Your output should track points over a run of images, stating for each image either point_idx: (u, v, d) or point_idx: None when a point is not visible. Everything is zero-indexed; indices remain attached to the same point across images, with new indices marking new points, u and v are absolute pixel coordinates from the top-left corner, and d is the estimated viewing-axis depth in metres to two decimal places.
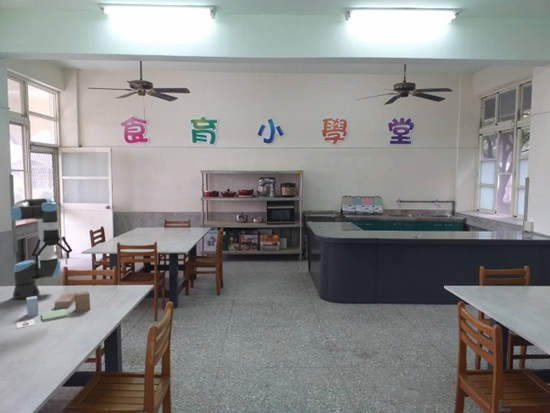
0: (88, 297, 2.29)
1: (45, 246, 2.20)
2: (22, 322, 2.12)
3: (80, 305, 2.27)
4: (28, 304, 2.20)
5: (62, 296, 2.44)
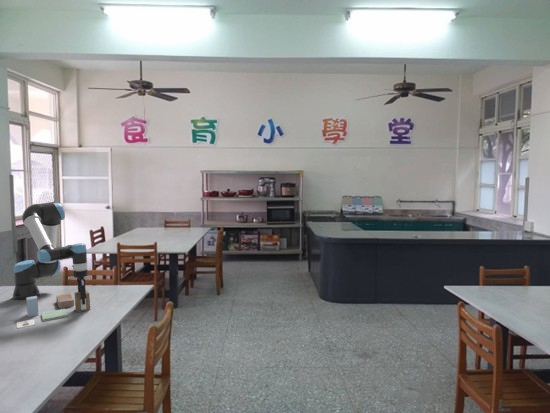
0: (88, 297, 2.29)
1: None
2: (22, 322, 2.12)
3: (80, 305, 2.27)
4: (28, 304, 2.20)
5: (59, 297, 2.43)
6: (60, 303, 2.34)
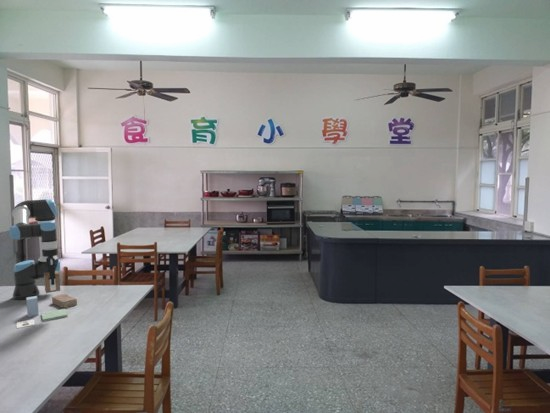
0: (58, 277, 2.18)
1: (47, 265, 2.20)
2: (22, 322, 2.12)
3: (49, 286, 2.16)
4: (28, 304, 2.20)
5: (57, 298, 2.41)
6: (65, 303, 2.34)
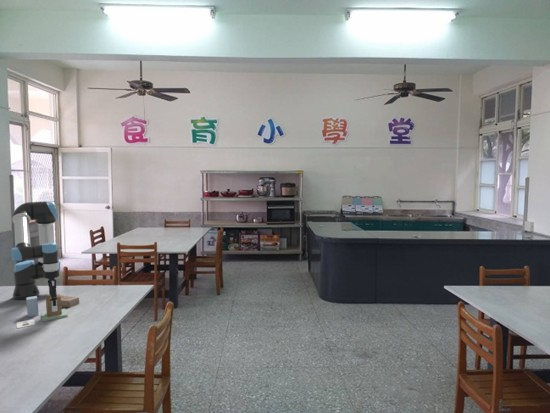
0: (59, 301, 2.19)
1: None
2: (22, 322, 2.12)
3: (51, 309, 2.17)
4: (28, 304, 2.20)
5: None
6: (70, 302, 2.36)
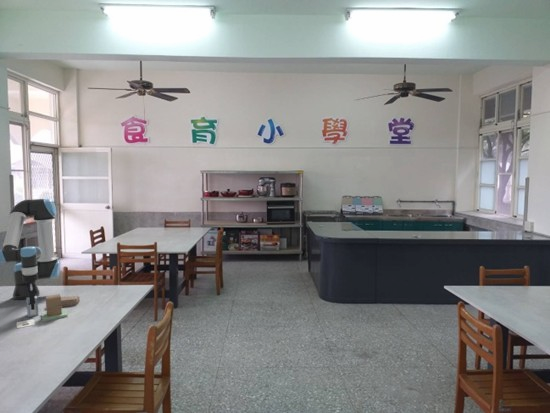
0: (59, 301, 2.19)
1: None
2: (22, 322, 2.12)
3: (51, 309, 2.17)
4: None
5: None
6: (76, 299, 2.40)
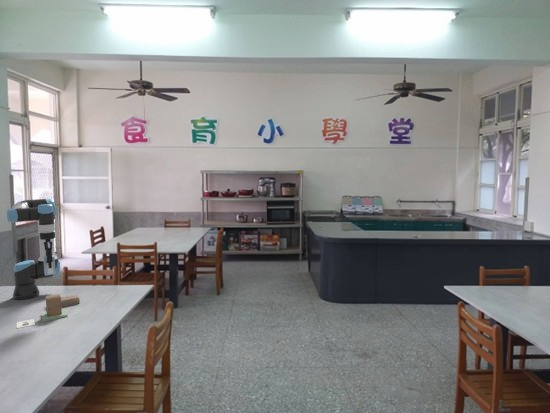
0: (59, 301, 2.19)
1: None
2: (22, 322, 2.12)
3: (51, 309, 2.17)
4: (45, 262, 2.15)
5: None
6: (78, 298, 2.42)
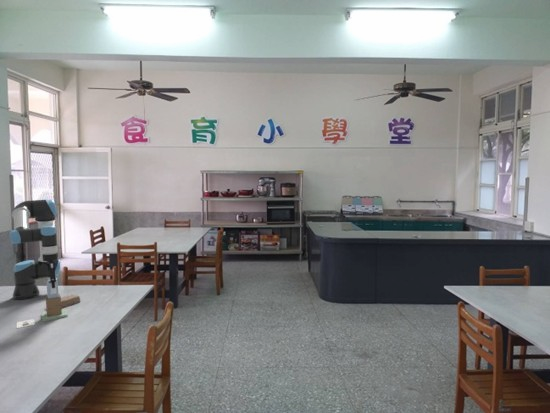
0: (59, 301, 2.19)
1: (47, 269, 2.21)
2: (22, 322, 2.12)
3: (51, 309, 2.17)
4: (48, 286, 2.17)
5: (62, 300, 2.36)
6: (79, 297, 2.45)
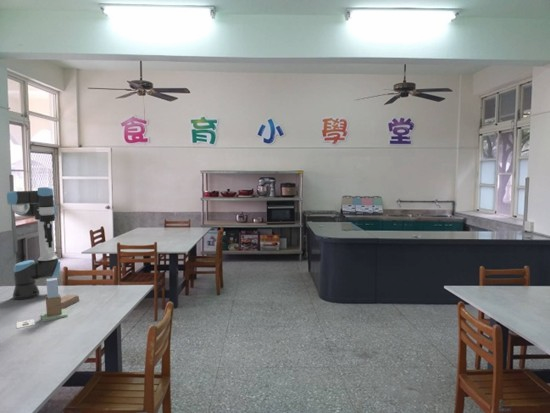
0: (59, 301, 2.19)
1: (44, 230, 2.22)
2: (22, 322, 2.12)
3: (51, 309, 2.17)
4: (48, 286, 2.17)
5: (65, 300, 2.37)
6: None
